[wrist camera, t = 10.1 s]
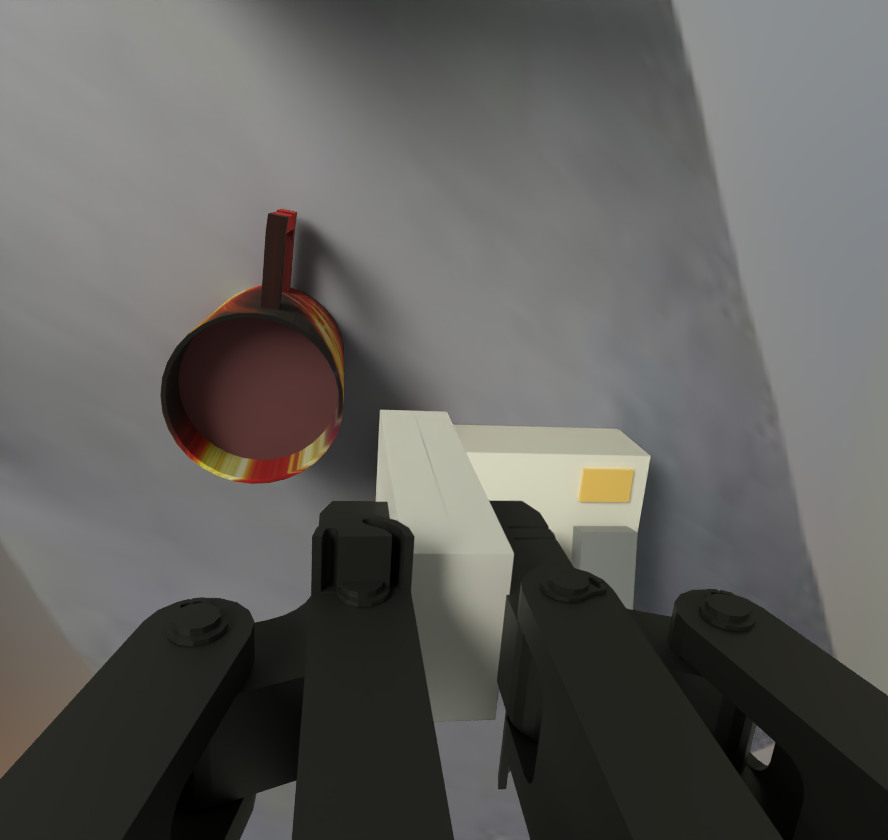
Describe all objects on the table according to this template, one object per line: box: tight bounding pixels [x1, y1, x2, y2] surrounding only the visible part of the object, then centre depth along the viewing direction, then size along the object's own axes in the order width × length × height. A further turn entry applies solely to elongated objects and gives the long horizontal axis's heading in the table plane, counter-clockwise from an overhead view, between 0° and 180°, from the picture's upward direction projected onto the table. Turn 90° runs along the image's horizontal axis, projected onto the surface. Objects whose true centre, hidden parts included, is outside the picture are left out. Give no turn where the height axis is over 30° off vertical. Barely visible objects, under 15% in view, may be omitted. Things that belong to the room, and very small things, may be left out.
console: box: [453, 425, 651, 562], centre depth 52 cm, size 18×18×7 cm
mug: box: [160, 209, 344, 484], centre depth 42 cm, size 10×14×12 cm
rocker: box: [571, 526, 638, 610], centre depth 49 cm, size 8×4×2 cm, turn 176°
